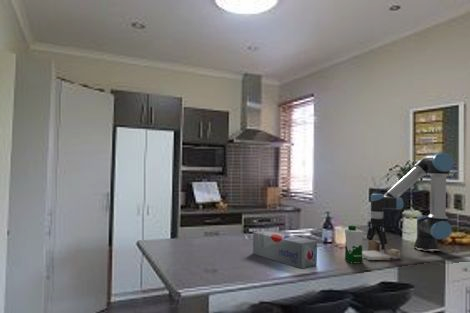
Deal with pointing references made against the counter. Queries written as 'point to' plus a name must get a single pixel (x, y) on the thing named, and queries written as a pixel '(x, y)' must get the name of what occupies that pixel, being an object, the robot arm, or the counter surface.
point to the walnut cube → (374, 246)
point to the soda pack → (285, 248)
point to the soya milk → (353, 244)
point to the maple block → (393, 253)
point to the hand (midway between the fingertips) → (376, 252)
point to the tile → (374, 255)
